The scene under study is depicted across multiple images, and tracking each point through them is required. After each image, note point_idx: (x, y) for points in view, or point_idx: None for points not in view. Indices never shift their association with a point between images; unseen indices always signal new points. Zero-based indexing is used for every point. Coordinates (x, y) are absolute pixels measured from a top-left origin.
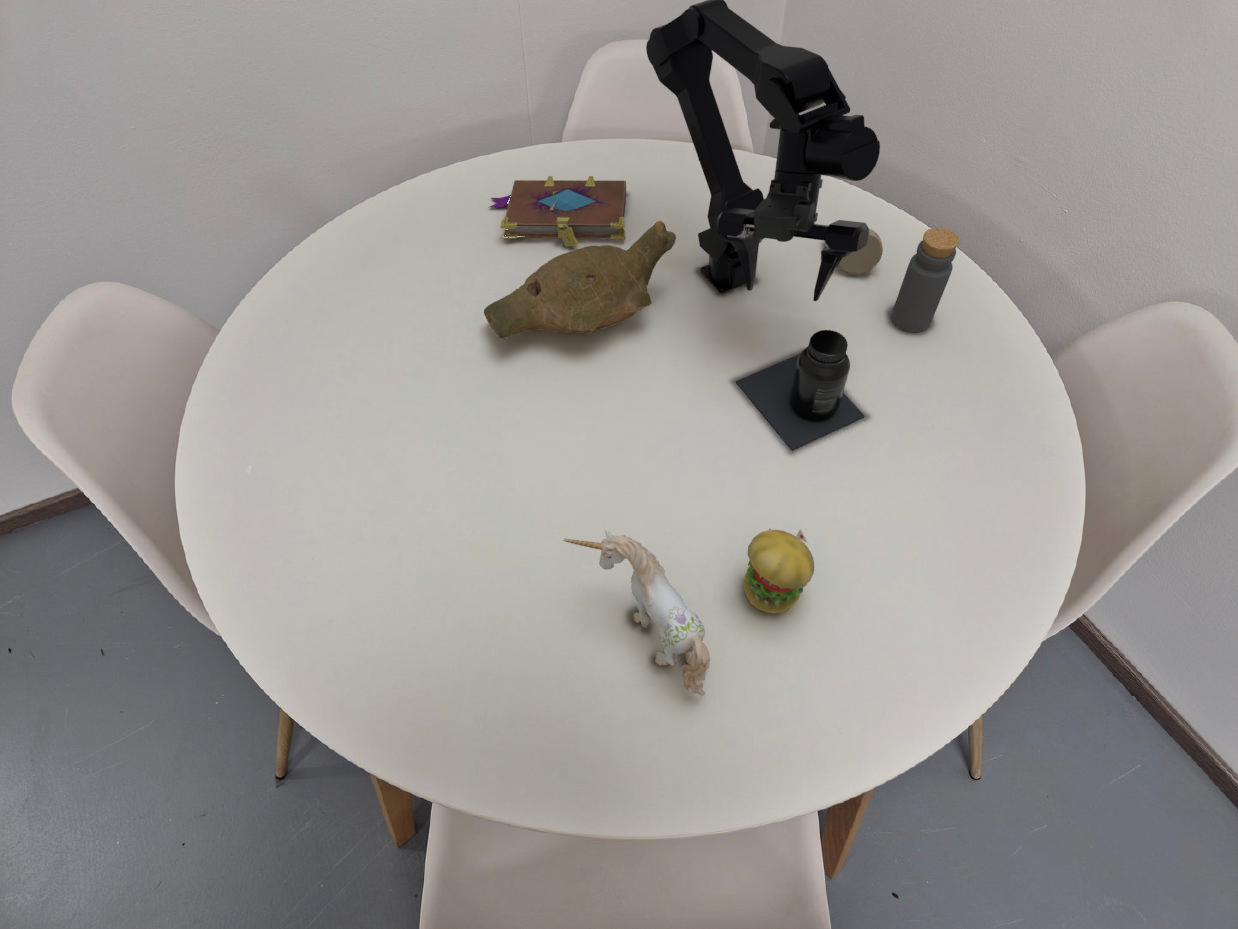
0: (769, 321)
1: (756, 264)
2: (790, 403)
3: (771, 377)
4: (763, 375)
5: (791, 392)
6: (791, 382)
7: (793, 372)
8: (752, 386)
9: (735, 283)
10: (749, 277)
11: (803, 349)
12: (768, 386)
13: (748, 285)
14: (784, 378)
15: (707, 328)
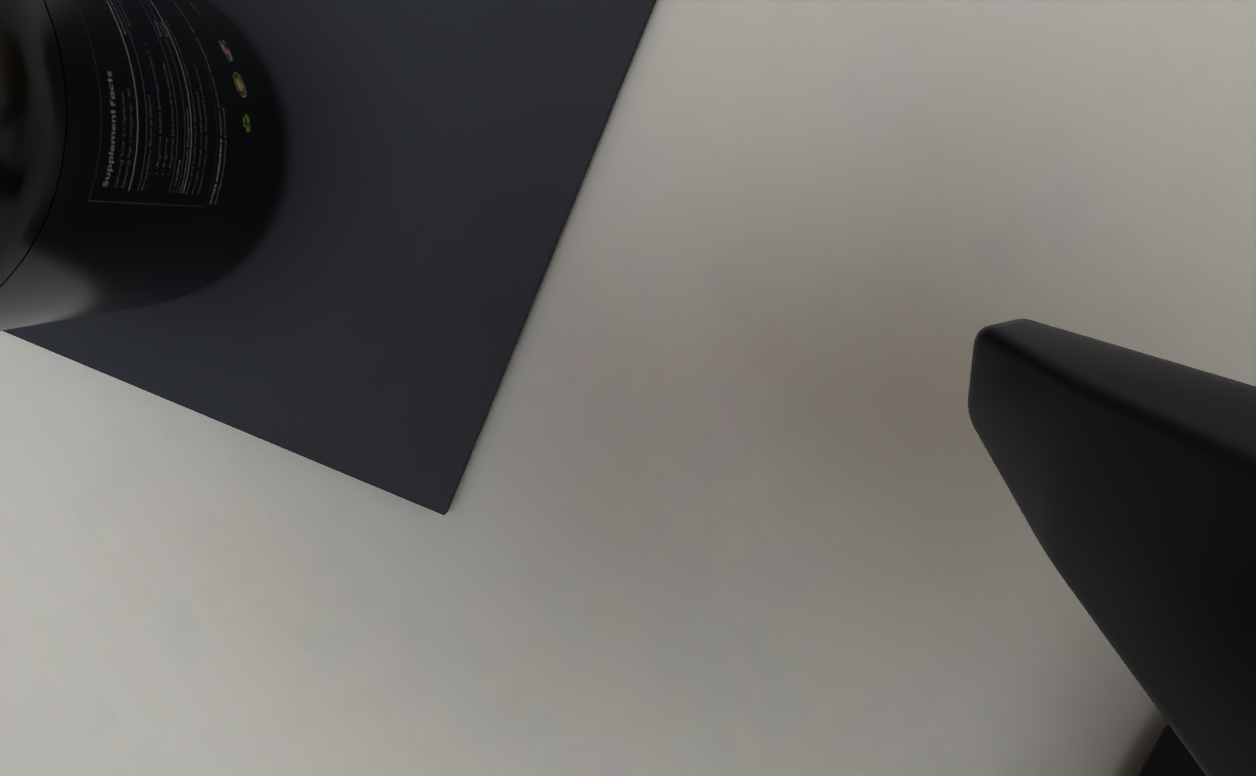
0: (790, 617)
1: (1198, 754)
2: (219, 11)
3: (484, 174)
4: (537, 156)
5: (196, 10)
6: (353, 219)
7: (395, 306)
8: (537, 15)
9: (1183, 756)
10: (1132, 401)
11: (8, 87)
12: (451, 87)
13: (1047, 342)
14: (410, 221)
15: (1113, 307)
